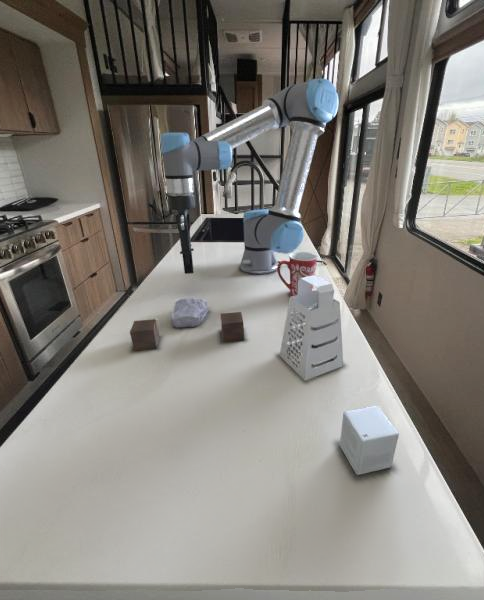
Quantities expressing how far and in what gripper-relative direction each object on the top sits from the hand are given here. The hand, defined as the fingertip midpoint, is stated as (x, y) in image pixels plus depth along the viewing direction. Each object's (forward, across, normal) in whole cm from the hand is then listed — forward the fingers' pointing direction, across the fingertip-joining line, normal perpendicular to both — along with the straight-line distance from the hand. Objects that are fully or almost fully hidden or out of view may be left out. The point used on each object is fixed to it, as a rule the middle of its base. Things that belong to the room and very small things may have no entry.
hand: (189, 272), depth 101 cm
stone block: (+10, +12, 0) cm, 15 cm away
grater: (+10, +38, +28) cm, 48 cm away
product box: (+10, +64, +29) cm, 71 cm away
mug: (+10, +2, +34) cm, 36 cm away
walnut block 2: (+10, +24, +11) cm, 28 cm away
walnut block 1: (+10, +24, -11) cm, 28 cm away
